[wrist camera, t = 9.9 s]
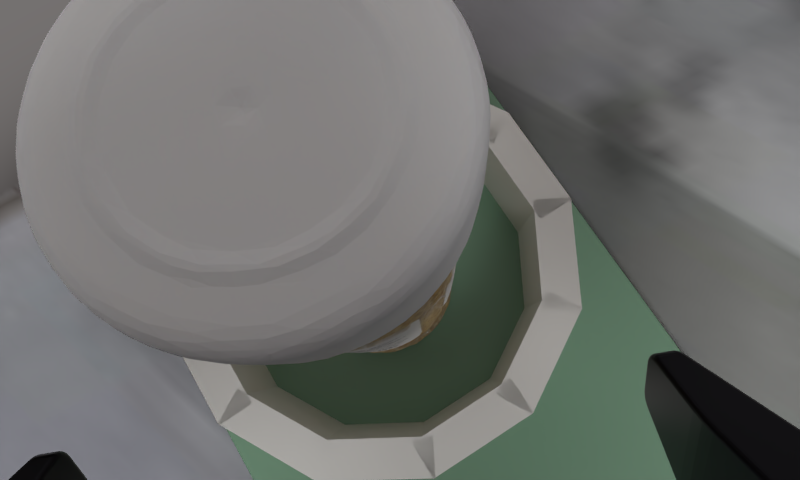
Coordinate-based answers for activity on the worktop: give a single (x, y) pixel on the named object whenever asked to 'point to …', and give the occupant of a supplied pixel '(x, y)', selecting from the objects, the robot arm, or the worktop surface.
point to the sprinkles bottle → (257, 170)
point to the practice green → (475, 363)
